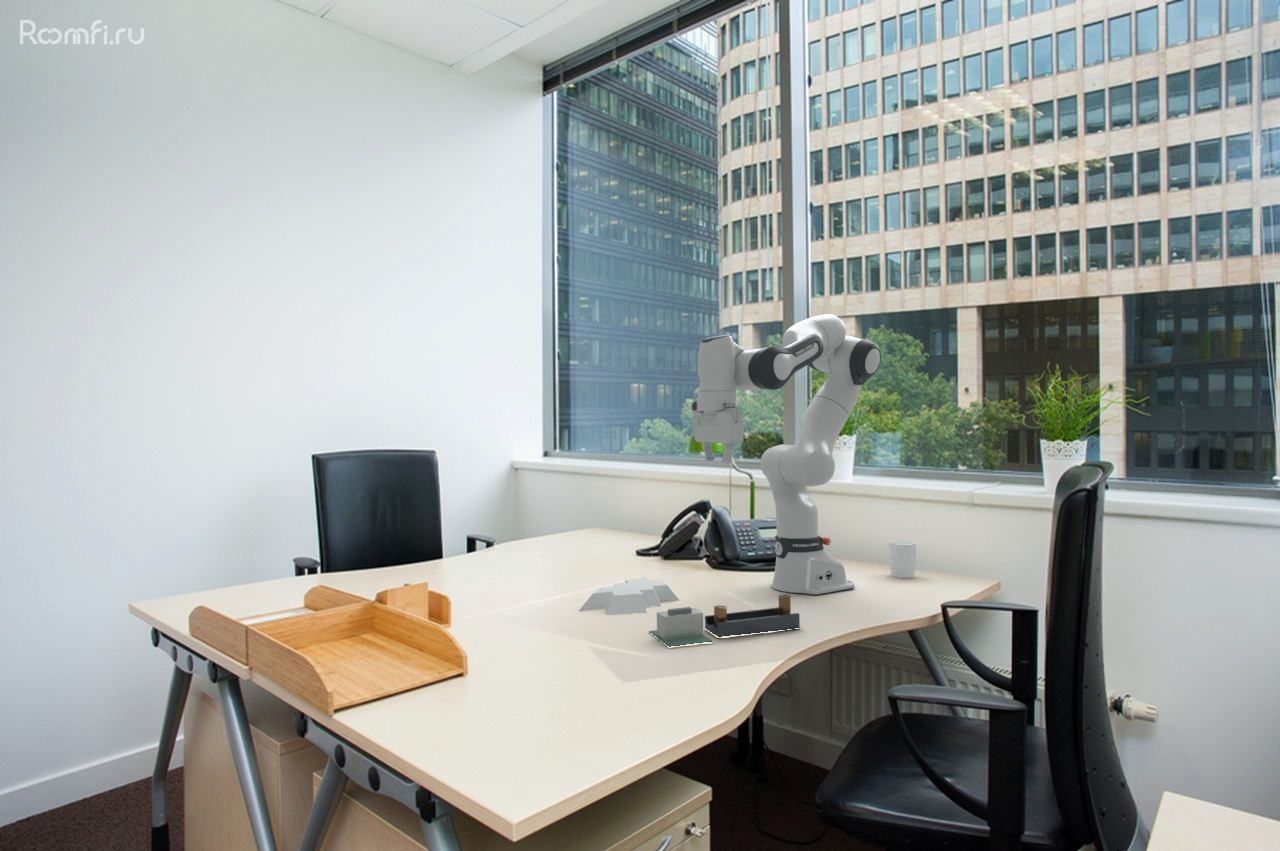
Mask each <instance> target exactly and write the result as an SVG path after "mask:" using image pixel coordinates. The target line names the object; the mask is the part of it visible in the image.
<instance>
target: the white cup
mask: <svg viewBox="0 0 1280 851" xmlns="http://www.w3.org/2000/svg"><path fill="white" fill-rule="evenodd" d="M887 547H888V548H887V550H888V551H887V552H888V564H889V565H888V566H889V575H890V576H891V577H893V578H898V579H912V578H915V577H916V562H917V561H916V560H917V542H915V541H913V540H903V539H902V540H901V539H900V540H897V539H896V540H889V541H888V542H887Z"/></svg>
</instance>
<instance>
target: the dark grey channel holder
mask: <svg viewBox="0 0 1280 851" xmlns="http://www.w3.org/2000/svg"><path fill="white" fill-rule="evenodd" d="M727 608H728V607H727V606H726V605H715V606H713V614H710V615H709V614H708V615H704V629H705V628H706V629H707V630H709V631H710V632H712V633H713V634H715V635H717V636H718V637H722V636H730V635H741V634H751V633H760V632H768V631H778V630H787V629H795V628H800V626H801V625H800V613H798V612H796V613H795V612H793V613H791V612H792V611H791V595H789V594H778V607H769V608H761V609H753V610H745V611H744V610H743V611H734V612H728V611H727V610H728V609H727Z"/></svg>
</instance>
